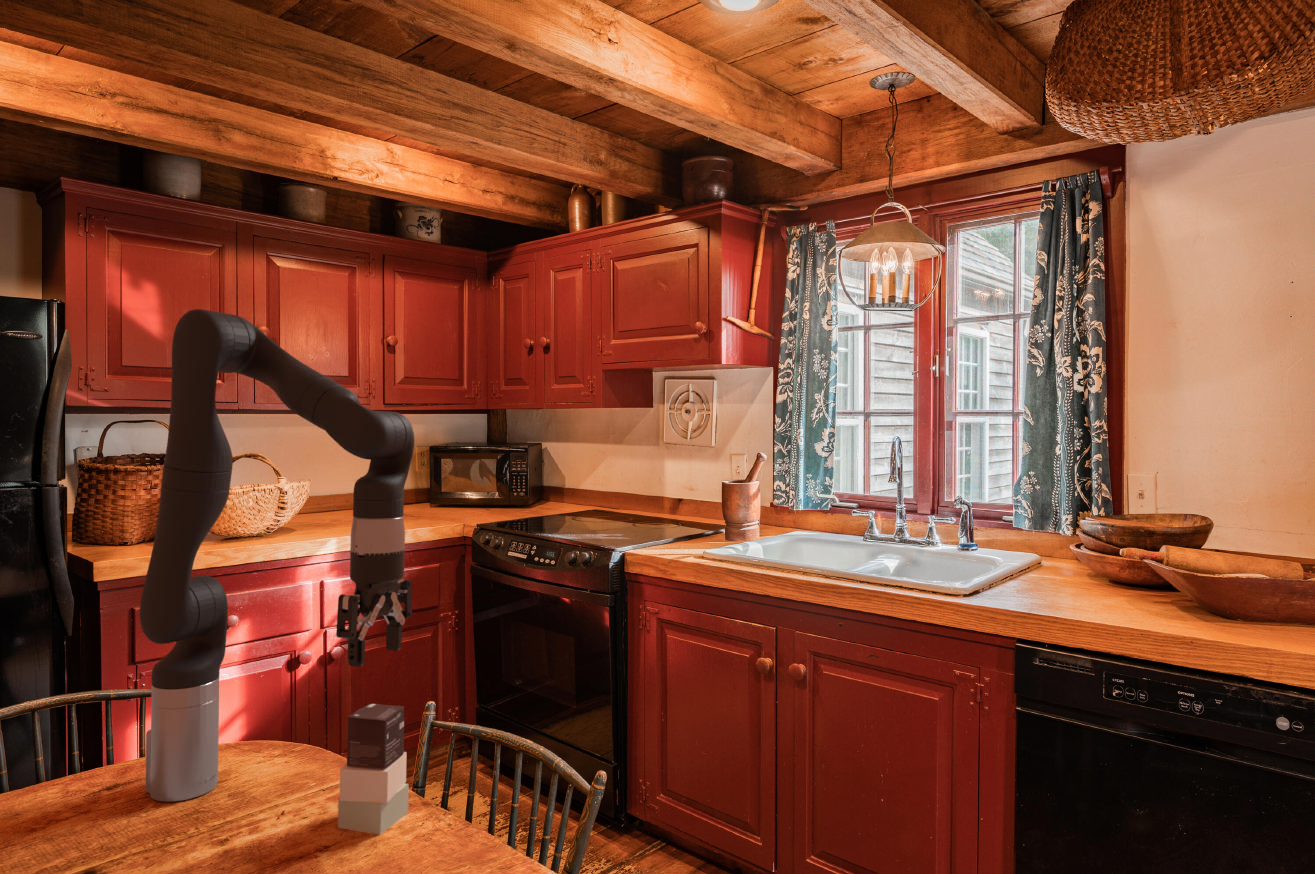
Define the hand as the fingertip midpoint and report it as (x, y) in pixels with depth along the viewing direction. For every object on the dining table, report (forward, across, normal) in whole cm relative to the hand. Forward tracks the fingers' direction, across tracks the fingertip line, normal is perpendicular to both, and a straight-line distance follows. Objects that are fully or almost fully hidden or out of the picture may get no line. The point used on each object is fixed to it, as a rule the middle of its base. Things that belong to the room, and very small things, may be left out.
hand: (375, 657), depth 117 cm
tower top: (+20, 0, 0) cm, 20 cm away
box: (+15, 0, 0) cm, 16 cm away
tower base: (+24, 0, 0) cm, 24 cm away
